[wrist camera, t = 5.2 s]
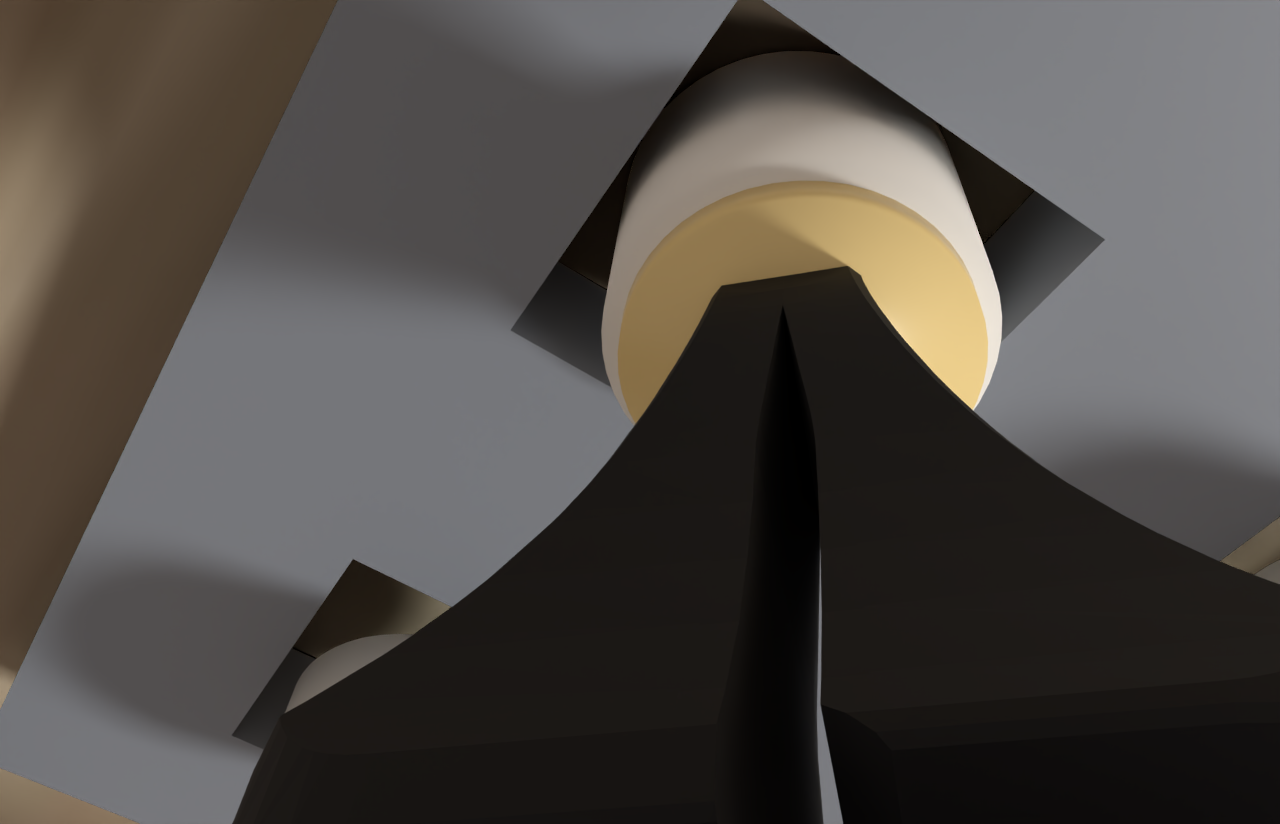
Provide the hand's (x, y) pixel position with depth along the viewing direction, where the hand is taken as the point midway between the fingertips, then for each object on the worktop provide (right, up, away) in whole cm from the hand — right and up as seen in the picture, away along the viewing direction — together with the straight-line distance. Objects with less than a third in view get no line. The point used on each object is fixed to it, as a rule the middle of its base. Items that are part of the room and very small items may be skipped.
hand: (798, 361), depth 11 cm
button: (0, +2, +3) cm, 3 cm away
